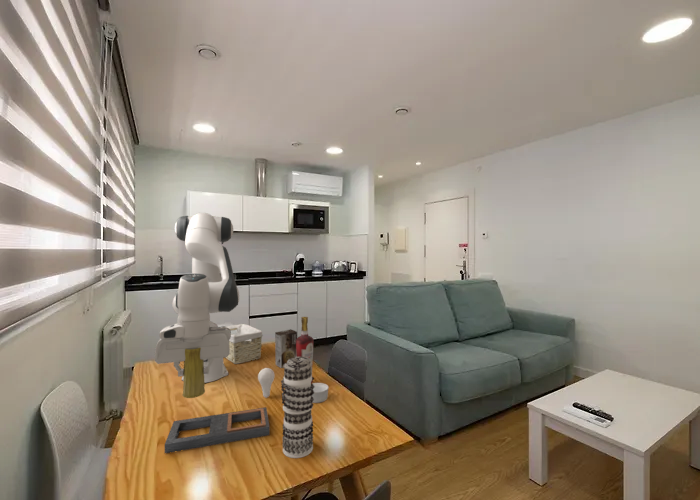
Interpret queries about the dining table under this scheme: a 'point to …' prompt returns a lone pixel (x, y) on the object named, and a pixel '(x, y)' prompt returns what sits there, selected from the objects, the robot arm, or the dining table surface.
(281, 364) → the coffee box
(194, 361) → the vase
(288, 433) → the decorative candle
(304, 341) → the liquor
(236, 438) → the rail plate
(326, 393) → the ramekin
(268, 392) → the lightbulb
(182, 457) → the dining table surface
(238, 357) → the storage basket
